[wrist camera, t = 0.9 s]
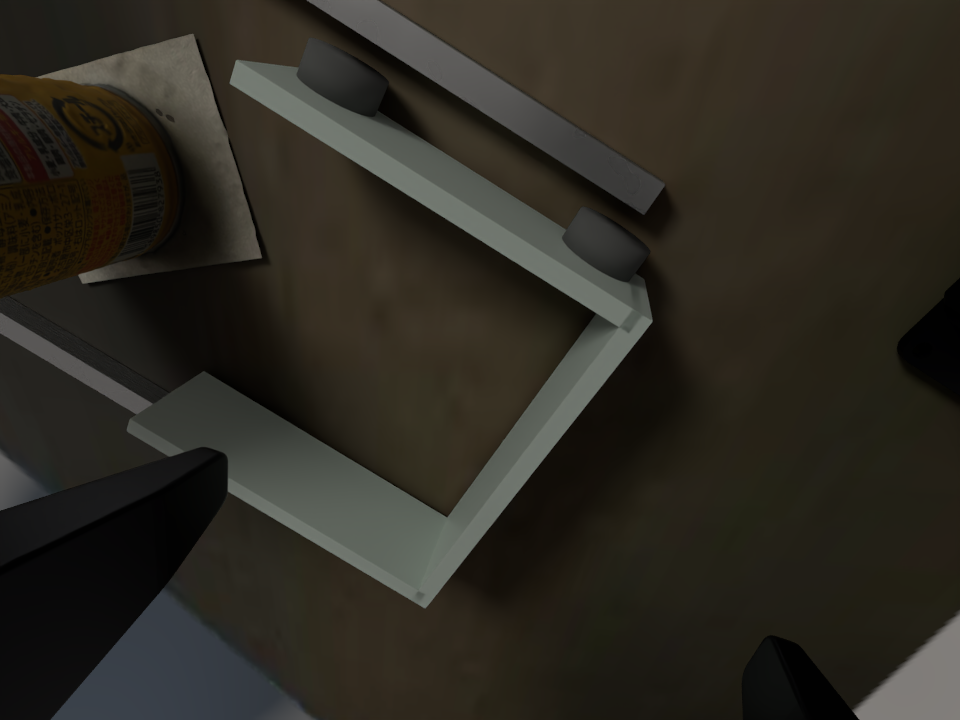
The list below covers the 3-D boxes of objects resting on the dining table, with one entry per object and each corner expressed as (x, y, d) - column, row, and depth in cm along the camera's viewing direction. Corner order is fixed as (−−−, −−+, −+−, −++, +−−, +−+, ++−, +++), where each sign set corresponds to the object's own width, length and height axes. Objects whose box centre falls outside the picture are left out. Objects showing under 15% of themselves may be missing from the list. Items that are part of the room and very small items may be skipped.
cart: (664, 253, 18) (678, 289, 14) (442, 548, 24) (413, 623, 21) (323, 37, 17) (248, 18, 14) (193, 399, 24) (120, 450, 20)
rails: (662, 180, 17) (665, 184, 16) (401, 551, 25) (394, 567, 25) (-168, -351, 16) (-214, -379, 15) (-157, 217, 24) (-187, 222, 23)
